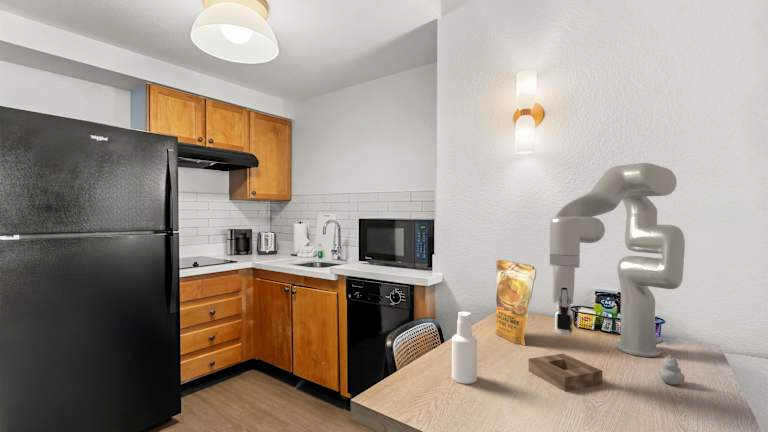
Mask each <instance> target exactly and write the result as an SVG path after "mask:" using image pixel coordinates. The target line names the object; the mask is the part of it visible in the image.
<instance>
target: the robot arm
mask: <svg viewBox="0 0 768 432" xmlns="http://www.w3.org/2000/svg"><path fill="white" fill-rule="evenodd" d="M677 181H678V180H677V177H676V175H675V173H674V172H673V171H672V170H671V169H670V168H667V167H664V166H661V165H657V164H654V163H649V162H640V163H632V164H631V163H630V164H623V165H615V166H612V167H610V168H608V169H607V170H606V171H605V172H604V173H603V175H601V178H600V179H599V180H598V181H597V182H596V184H595V185H594V186H593V188H592V189H591V190H590V191H589V192H587V193H585V194H583V195H581V196H579V197H577V198H575V199H573V200H572V201H570V202H568V203H567V204H565V205H564V206H562V207H561V208H560V210H559V211H558V212H557V213H556V214H555V216H554V217H553V218H551V219H550V222H549V266H550V267H553V272H552V302H553V303H554V304H556V302H558V303H557V304H559V314H557V328H558V329H563V330H570V329H571V315H570V313H571V311H570V306H571V305H572V304H573V302H574V294H575V277H576V276H575V275H576V274H575V270H576V269H577V268H580V265H581V263H580V261H581V259H580V257H581V254H580V253H581V249H580V248H581V244H593V243H597V242H599V241H601V240H602V239H603V237H604V235H605V232H606V226H605V224H604V222H602V220H600V219H599V218H597V216H600V215H604V214H607V213H610V212H612V211H614V210H616V208H617V207H618V206H619V204H620V203H621V202H622V203H623V204H624V207H625V211H626V221H625V235H624V243H625V247H626V248H627V249H628V250H629V251H631V252H634V253H644V254H645V253H646V254H657V255H661V256H662V258H661V257H652V256H640V255H639V256H638V255H629V256H624V257H622V258H621V259H620V260H619V261H618V262H617V266H616V267H617V268H616V269H617V275H618V280H619V285H620V289H619V290H620V340H618V341H616V342H615V343H614V345H615V348H616V349H617V350H619V351H621V352H623V353H626V354H628V355H629V354H630V355H633V356H638V357H644V358H658V357H660V356H661V355H662V350H661V349H660V348H659V347H657V345H658V344H663V343H664V339H663V337H660V336H659V337H656V298H655V297H654V294H653V292H652V291H651V289H650V288H649V287H651V288H657V289H666V290H676V289H678V288H679V287H680V286H681V285H682V282H683V277H684V264H685V263H684V262H685V261H684V260H685V249H686V248H685V245H686V243H685V242H686V241H685V240H686V238H685V235H684V232H683V230H682V229H681V228H680V227H679V226H676V225H674V224H658V208H657V206H656V205H655V204H654V203H653V202H652V200H650V198H648V197H664V196H665V197H666V196H669V195H671V194H672V193H674V191H675V190H676V187H677ZM561 305H562V306H561ZM567 306H568V307H567ZM556 310H557V309H556ZM557 311H558V310H557ZM557 311H556V312H557ZM567 314H568V315H567Z"/></svg>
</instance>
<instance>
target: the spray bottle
mask: <svg viewBox="0 0 768 432" xmlns="http://www.w3.org/2000/svg"><path fill="white" fill-rule="evenodd" d="M457 317H458V318H457V322H456V324H457V325H456V334H454V335H452V337H451V378H452V380H453V381H454V382H456V383H460V384H464V385H465V384H466V385H467V384H474V383H476V381H477V380H478V338H477V337H476V336H474V335H473V327H472V322H473V321H472V313H471V312H469V311H458V313H457Z"/></svg>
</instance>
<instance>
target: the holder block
mask: <svg viewBox="0 0 768 432" xmlns="http://www.w3.org/2000/svg"><path fill="white" fill-rule="evenodd" d="M528 372H530V373H532V374H533V375H535V376H537V377H538V378H540V379H542V380H544V381H546V382H547V383H549V384H551V385H552V386H554V387H556V388H558V389H560V390H562V391H563V392H568V391H573V390H578V389H583V388H589V387H593V386H599V385H603V370H601V369H600V368H597V367H595V366H593V365H590V364H589V363H586V362H584V361H581V360H579V359H578V358H575V357H572V356H570V355H569V354H566V353H558V354H557V353H556V354H552V355H551V354H550V355H544V356H538V357H531V358H528Z"/></svg>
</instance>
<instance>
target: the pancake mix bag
mask: <svg viewBox="0 0 768 432" xmlns="http://www.w3.org/2000/svg"><path fill="white" fill-rule="evenodd" d="M495 270H496V271H495V313H496V315H495V328H494V329H495V330H494V331H495V334H496V335H497V336H498V337H501V338H502V339H504V340H507V341H509V342H510V343H513V344H515V345H522V346H525V345H526V341H525V332H526V329H527V324H528V317H529V313H530V312H529V310H530V306H531V301H532V296H533V290H534V285H535V280H536V277H537V269H536V268H535V267H534V265H531V264H525V263H519V262H515V261H509V260H502V259H498V260H496V261H495Z"/></svg>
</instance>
